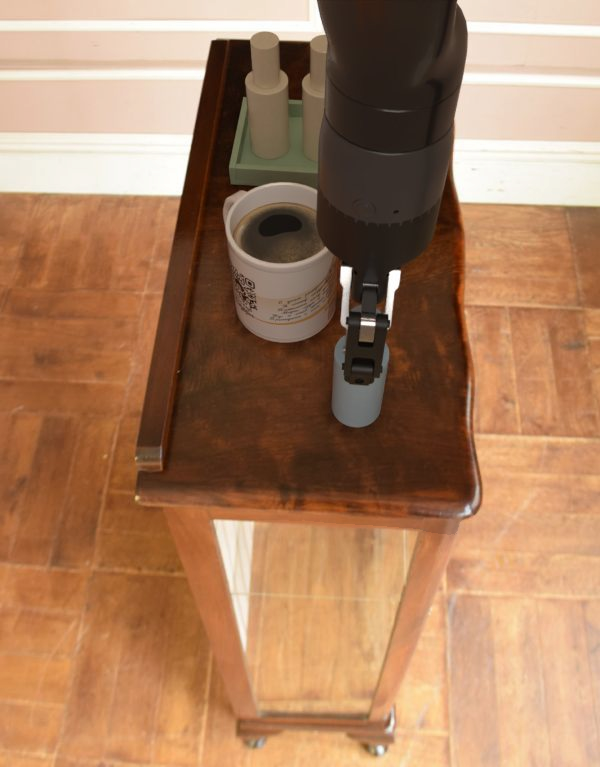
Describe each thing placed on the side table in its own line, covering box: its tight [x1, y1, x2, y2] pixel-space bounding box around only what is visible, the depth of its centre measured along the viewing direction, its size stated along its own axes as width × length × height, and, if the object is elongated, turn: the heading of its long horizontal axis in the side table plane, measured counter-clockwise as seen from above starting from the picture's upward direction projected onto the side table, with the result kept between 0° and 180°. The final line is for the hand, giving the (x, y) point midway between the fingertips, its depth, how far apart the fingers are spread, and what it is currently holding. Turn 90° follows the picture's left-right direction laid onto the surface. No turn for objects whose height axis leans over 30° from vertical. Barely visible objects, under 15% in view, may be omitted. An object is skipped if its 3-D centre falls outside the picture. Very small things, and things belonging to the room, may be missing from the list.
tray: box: [228, 96, 318, 190], centre depth 85 cm, size 19×11×2 cm, turn 84°
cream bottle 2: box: [301, 34, 328, 162], centre depth 80 cm, size 4×4×13 cm
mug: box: [222, 182, 340, 344], centre depth 71 cm, size 10×12×11 cm
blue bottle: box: [331, 304, 390, 428], centre depth 63 cm, size 4×4×13 cm
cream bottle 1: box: [244, 31, 290, 159], centre depth 80 cm, size 4×4×13 cm
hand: (361, 332), depth 59 cm, fingers open, 8 cm apart
